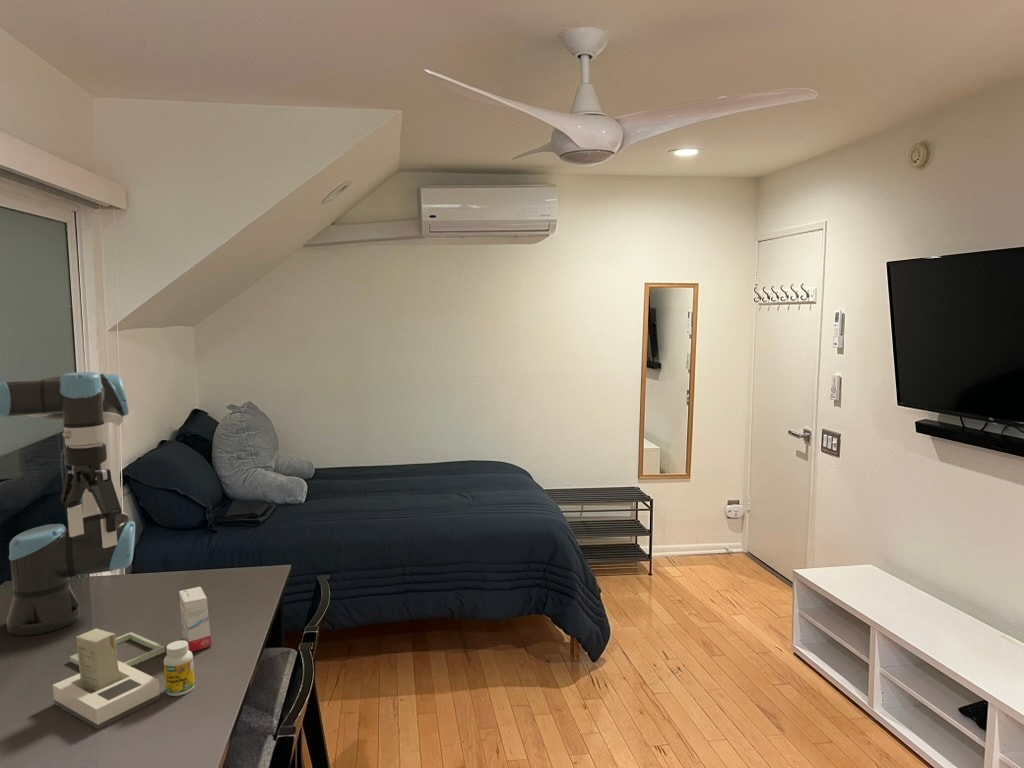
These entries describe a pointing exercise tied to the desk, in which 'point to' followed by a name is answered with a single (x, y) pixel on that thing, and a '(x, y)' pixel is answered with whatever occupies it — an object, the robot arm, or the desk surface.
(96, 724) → the block
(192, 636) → the ink box
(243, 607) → the desk surface
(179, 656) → the supplement bottle
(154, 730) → the desk surface
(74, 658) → the tray rim
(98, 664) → the skincare box
